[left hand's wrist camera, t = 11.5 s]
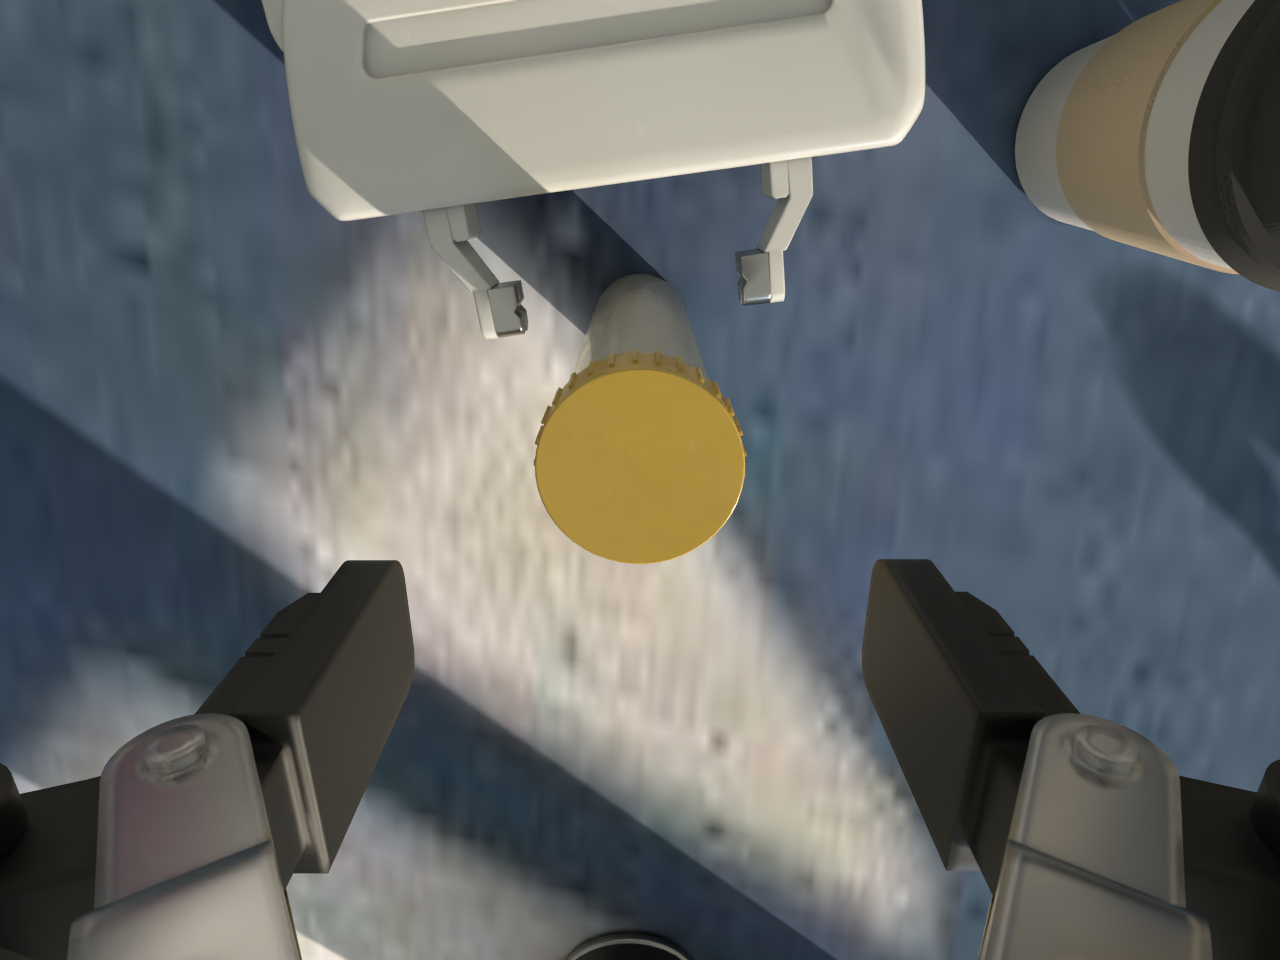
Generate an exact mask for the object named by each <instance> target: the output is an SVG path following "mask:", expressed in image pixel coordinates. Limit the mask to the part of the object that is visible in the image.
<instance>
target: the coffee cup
mask: <svg viewBox="0 0 1280 960" xmlns="http://www.w3.org/2000/svg"><path fill="white" fill-rule="evenodd" d="M1015 161H1016V168H1017V173H1018V177H1019V180H1020V182H1021V185H1022V187H1023V189H1024V191H1025V193H1026V195H1027V196H1028V198H1029V199H1030V200H1031V202H1032V203H1033V204H1034V205H1035V206H1036V207H1037V208H1038V209H1039V210H1040V211H1042V212H1043V213H1044V214H1046V215H1047V216H1049V217H1051V218H1053V219H1055V220H1058V221H1061V222H1064V223H1067V224H1071V225H1074V226H1078V227H1082V228H1085V229H1089V230H1092V231H1095V232H1097V233H1099V234H1100V235H1102V236H1104V237H1107V238H1109V239H1112V240H1115V241H1118V242H1122V243H1125V244H1128V245H1132V246H1135V247H1138V248H1142V249H1145V250H1149V251H1152V252H1155V253H1159V254H1162V255H1165V256H1169V257H1172V258H1175V259H1179V260H1182V261H1185V262H1189V263H1192V264H1195V265H1199V266H1202V267H1206V268H1209V269H1212V270H1216V271H1220V272H1225V273H1231V274H1240V275H1241V276H1243V277H1245V278H1247V279H1248V280H1250V281H1252V282H1254V283H1256V284H1258V285H1261V286H1263V287H1266V288H1269V289H1272V290H1275V291H1279V292H1280V0H1181V1H1179V2H1176V3H1174V4H1172V5H1170V6H1167V7H1165V8H1163V9H1160V10H1158V11H1156V12H1154V13H1151V14H1149V15H1147V16H1145V17H1142V18H1140V19H1139V20H1137V21H1135V22H1133V23H1131V24H1130V25H1128V26H1127V27H1125V28H1124V29H1122V30H1121V31H1119V32H1118V33H1117V34H1115V35H1113V36H1110V37H1108V38H1106V39H1103V40H1101V41H1099V42H1096V43H1094V44H1092V45H1089V46H1087V47H1085V48H1082V49H1080V50H1078V51H1076V52H1074V53H1073V54H1071V55H1069V56H1068V57H1066V58H1065V59H1063V60H1062V61H1061V62H1059V63H1058V64H1057V65H1056V66H1055V67H1053V68H1052V69H1051V70H1050V71H1049V72H1048V73H1047V74H1046V76H1045V77H1044V78H1043V79H1042V80H1041V81H1040V83H1039V84H1038V85H1037V87H1036V88H1035V90H1034V91H1033V93H1032V94H1031V96H1030V98H1029V100H1028V102H1027V104H1026V106H1025V108H1024V110H1023V113H1022V115H1021V118H1020V121H1019V125H1018V129H1017V134H1016V141H1015Z"/></svg>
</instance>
